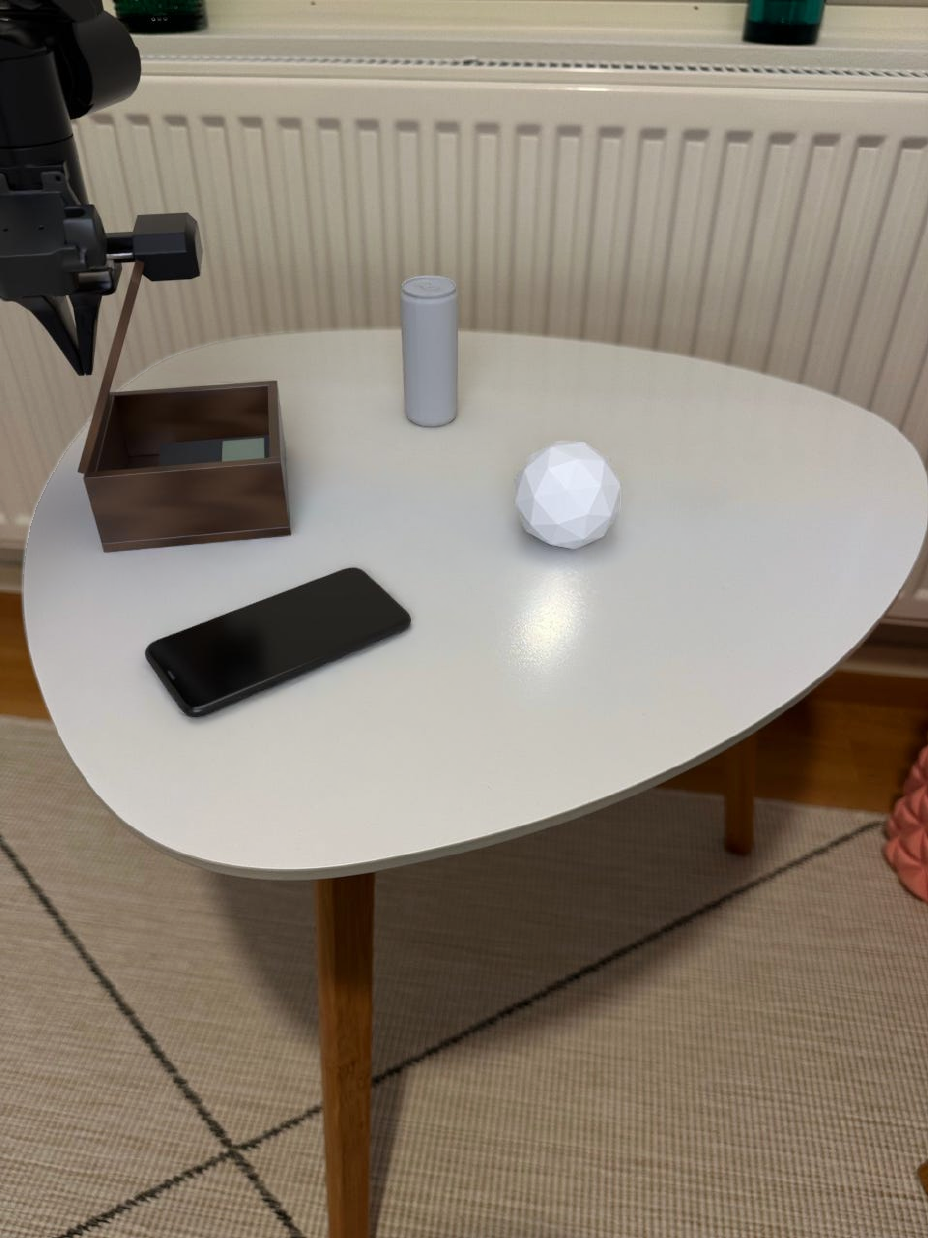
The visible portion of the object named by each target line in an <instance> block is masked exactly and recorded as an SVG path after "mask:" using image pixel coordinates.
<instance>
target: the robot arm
mask: <svg viewBox="0 0 928 1238" xmlns="http://www.w3.org/2000/svg"><path fill="white" fill-rule="evenodd" d="M140 53H141V52H140V50H139V47H138V46H137V45H136V44H135V42H134V40H133V37H132V35H131V33H130V32H129V31H128V29H127V28H126V26H125V25H124V24H123V23H122V22H121V21H120V20H119V19H118V18H117V17H116V16H114V15H113V14H112V13H110V12H108V10H105V7H104V3H103V0H0V301H2V302H4V303H5V302H6V303H8V302H9V303H10V302H14V303H16V304H17V305H20V306H21V307H23V308H25V309H26V310H27V311H28V312H30V313H31V314H32V315H33V316H34V318H35V319H36V320H37V321H38V322H39V323H40V324H41V325H42V326H43V328H44V330H46V332H47V334H49V336H50V337H51V338H52V340H53V341H54V343H55V345H56V346H57V348H58V349H59V350H60V351H61V353H62V355H63V356H64V357H65V359H66V360H67V361H68V364H69V365H70V366H71V367H72V369H73V370H74V371H75V374H76V375H77V376H79V377H84V376H92V375H93V371H94V365H95V355H96V346H97V335H98V325H99V316H100V310H101V309H100V308H101V304H102V299H103V297H107V296H111V295H114V294H115V293H116V292H117V289H118V286H119V282H120V279H121V275H122V271H123V264H126V263H127V264H128V263H135V260H139V261H142V262H144V263H145V266H144V270H143V274H142V277H145V278H146V279H148V281H150V282H168V281H170V282H171V281H184V280H186V281H187V280H193V279H196V278H198V277H201V274H202V273H201V272H202V262H203V253H204V250H203V242H202V237H201V230H200V226H199V223H198V220H196V219H195V217H193V216H192V215H191V214H190V213H189V212H187V211H186V212H167V213H149V214H146V213H145V214H136V218H135V222H134V226H133V230H132V231H118V232H117V231H116V232H106V231H105V228H104V224H103V220H102V217H101V216H100V214H99V212H98V210H97V208H96V205H95V204H93V203H90V200H89V196H88V192H87V187H86V182H85V178H84V174H83V170H82V166H81V162H80V155H79V151H78V147H77V142H76V139H75V134H74V130H73V126H72V122H71V121H72V120H77V119H81V118H83V117H86V116H88V115H91V114H94V113H97V112H98V111H101V110H104V109H105V108H109V107H111V106H114V105H116V104H119V103H121V102H125V101H126V100H127V99H129V98H131V96H133V95H134V93H135V92H136V90H137V89H138V87H139V84H140V82H141V77H142V58H141V54H140ZM67 296H68V299H69V302H70V304H71V307H72V311H73V313H72V312H71V308H70V305H69V302H68V299H67ZM73 317H74V318H73Z"/></svg>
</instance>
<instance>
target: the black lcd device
mask: <svg viewBox="0 0 928 1238" xmlns="http://www.w3.org/2000/svg"><path fill="white" fill-rule="evenodd" d="M259 458H270V454H269V435H264V436H252V437H239V438H227V439H214V440H202V441H189V442H176V443H164V444H161V445H160V452H159V458H158V465H157V467H161V466H173V465H185V464H198V463H210V462H222V461H234V460H247V459H259Z"/></svg>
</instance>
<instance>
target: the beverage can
mask: <svg viewBox="0 0 928 1238" xmlns="http://www.w3.org/2000/svg"><path fill="white" fill-rule="evenodd" d="M399 299H400V304H399V305H400V324H401V325H400V327H401V348H402V350H401V351H402V372H403V400H404V413H405V415H406V417H407V418H408V419H409V420H410V421H411V422H412V423H414V424H416V425H418V426H421V427H427V428H428V427H429V428H432V427H433V428H435V427H441V426H445V425H447V424H449V423H451V422H452V421H453V420H454V419H455V417H456V416H457V414H458V384H459V383H458V377H459V376H458V375H459V373H458V372H459V292H458V291H457V283H456V282H455V280H453V279H451V278H449V277H446V276H441V275H429V274H428V275H419V276H413V277H410V278H407V279H406V280H404V281H402V284H401V291H400V294H399Z"/></svg>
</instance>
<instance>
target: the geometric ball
mask: <svg viewBox="0 0 928 1238" xmlns="http://www.w3.org/2000/svg"><path fill="white" fill-rule="evenodd" d="M621 489H622V484H621V483H620V480H619V478H618V475H617V472H616V471H615V468H614V465H613V463H612V460H611V457H608V456H607V455H605V454H603V453H602V452H601V451H599V450H597V449H595V448H594V447H592V446H591V445H589V444H588V443H586V442H584V441H574V440H573V441H572V440H561V439H558V440H556V441H554V442H552V443H550V444H548V445H546V446H544V447H542V448H540V449H537V450H535V451H533V452H531V453H530V455H529V456H528V458H527V459H526V461H525V462H524V464H523V465H522V467H521V469H520V470H519V471H518V473H517V475H516V476H515V478H514V505H515V507H516V510H517V513H518V515H519V519H520V520H521V524H522V526H523V528H524V531H525V532H526V533H528V534H530V535H532V536H533V537H535V538H537V539H539V540H541V541H542V542H544V543H546V544H548V545H550V546H552V547H553V546H554V547H560V548H565V549H570V550H578V549H580V548H582V547H584V546H586V545H588V544H590V543H593V542H595V541H597V540H599V539H601V538H604V537H605V535H606V534H607V532H608V530H609V529H610V527H611V526H612V525H613V523H614V521H615V520H616V519H617V517H618V516H619V514H620V512H621Z"/></svg>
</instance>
